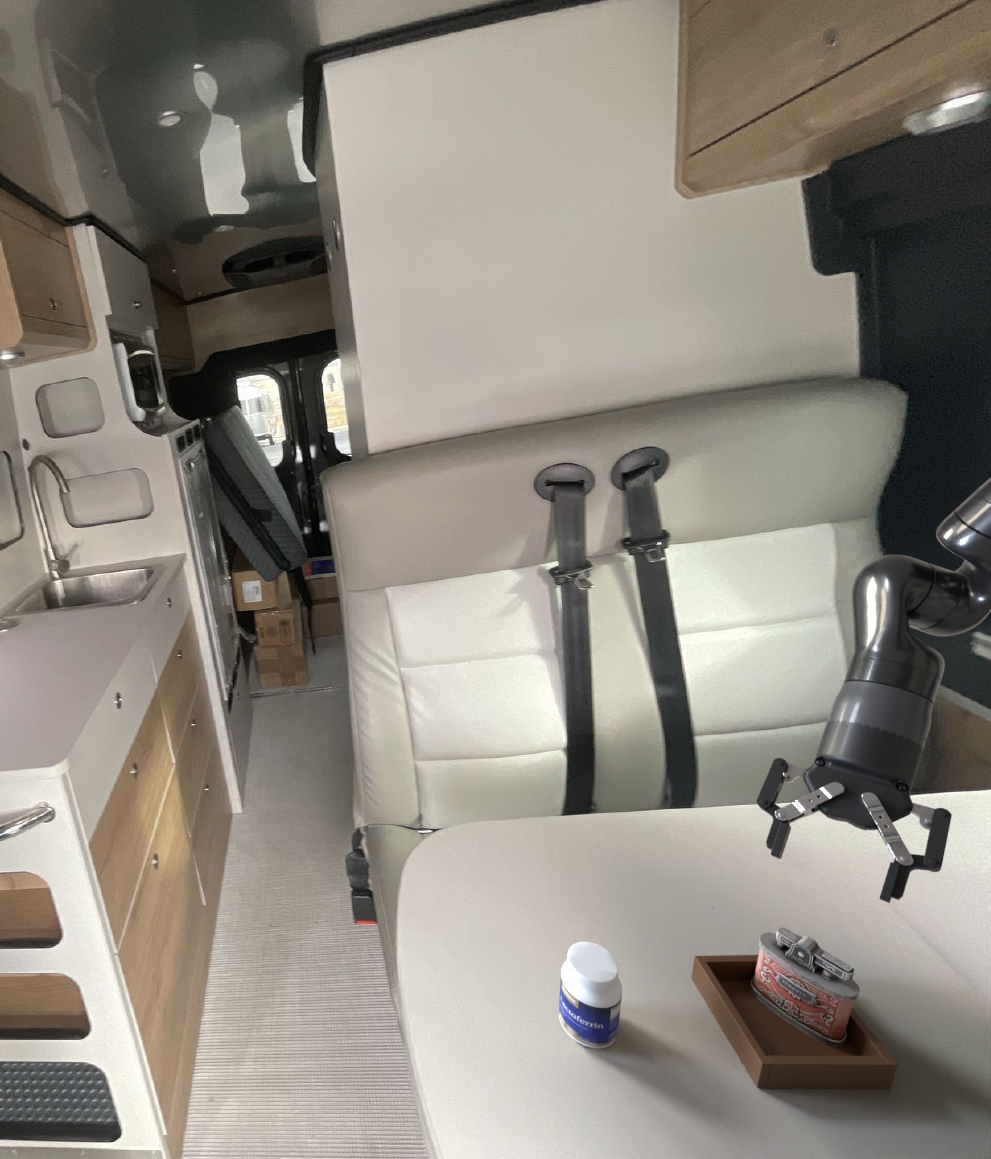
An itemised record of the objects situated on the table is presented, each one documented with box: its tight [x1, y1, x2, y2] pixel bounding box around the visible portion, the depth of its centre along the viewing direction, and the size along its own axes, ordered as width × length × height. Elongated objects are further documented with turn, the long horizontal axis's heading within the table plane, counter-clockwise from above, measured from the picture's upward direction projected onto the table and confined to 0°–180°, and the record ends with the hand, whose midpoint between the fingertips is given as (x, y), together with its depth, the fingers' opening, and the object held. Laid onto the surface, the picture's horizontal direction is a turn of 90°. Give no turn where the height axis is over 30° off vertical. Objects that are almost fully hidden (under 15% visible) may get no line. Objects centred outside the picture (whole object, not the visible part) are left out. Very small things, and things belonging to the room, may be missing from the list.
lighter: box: [750, 926, 861, 1047], centre depth 68 cm, size 8×3×10 cm, turn 28°
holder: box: [690, 954, 899, 1090], centre depth 69 cm, size 12×12×4 cm
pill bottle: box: [558, 941, 623, 1050], centre depth 71 cm, size 6×6×10 cm
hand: (827, 877), depth 69 cm, fingers open, 8 cm apart
